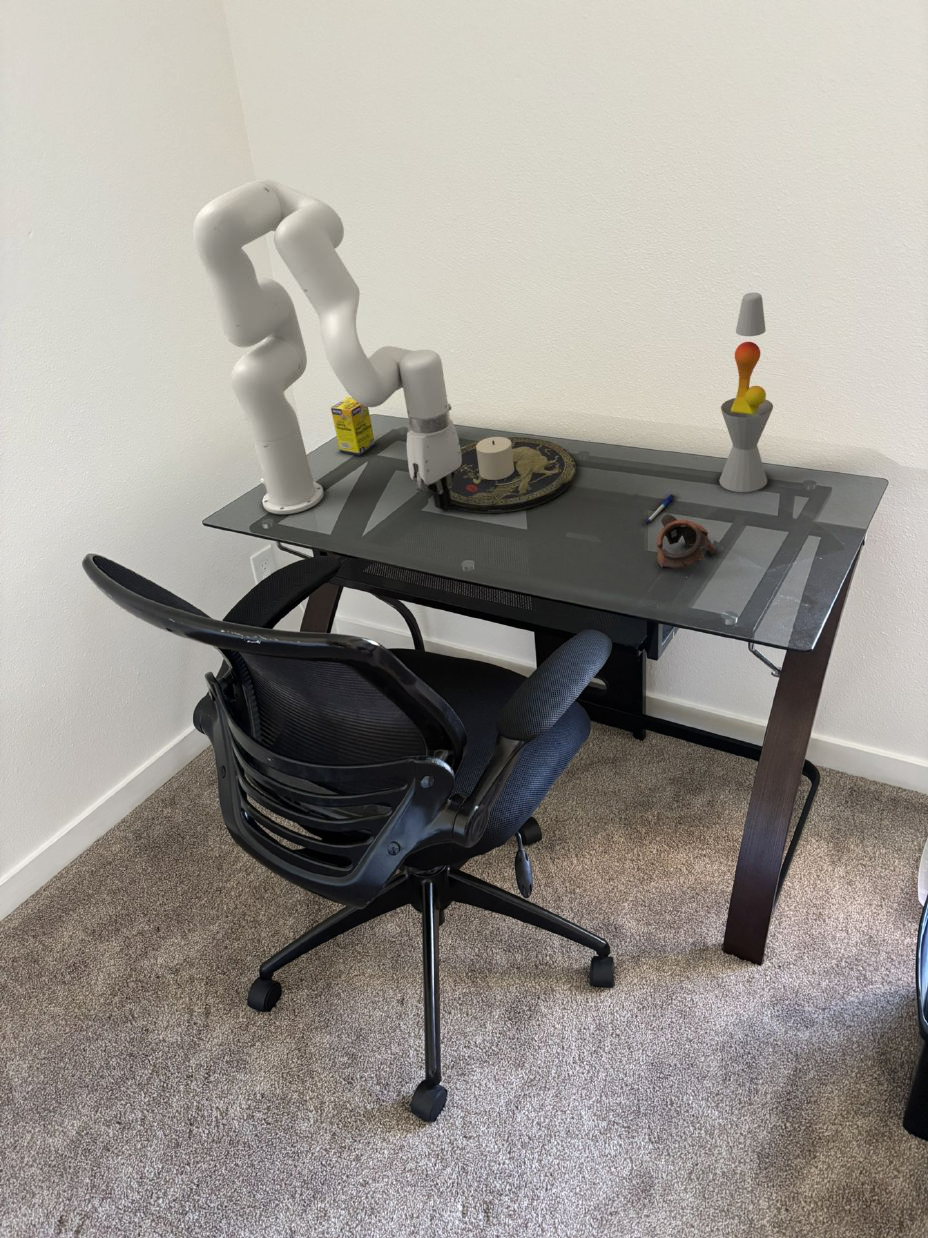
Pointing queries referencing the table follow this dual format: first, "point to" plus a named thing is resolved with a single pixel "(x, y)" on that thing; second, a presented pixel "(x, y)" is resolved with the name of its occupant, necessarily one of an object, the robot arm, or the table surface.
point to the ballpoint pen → (660, 507)
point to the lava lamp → (746, 406)
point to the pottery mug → (690, 535)
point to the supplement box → (352, 427)
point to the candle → (495, 458)
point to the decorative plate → (513, 478)
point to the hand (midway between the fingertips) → (443, 507)
